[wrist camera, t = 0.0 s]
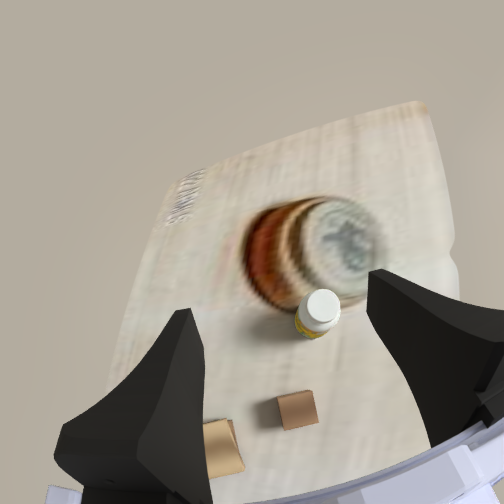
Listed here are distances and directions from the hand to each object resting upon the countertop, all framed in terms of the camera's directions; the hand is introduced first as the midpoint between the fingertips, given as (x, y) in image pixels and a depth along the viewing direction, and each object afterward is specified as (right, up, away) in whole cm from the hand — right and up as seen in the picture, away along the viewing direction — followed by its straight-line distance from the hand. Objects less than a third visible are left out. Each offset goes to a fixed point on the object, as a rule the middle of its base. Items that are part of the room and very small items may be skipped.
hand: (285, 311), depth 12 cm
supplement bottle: (+7, -8, +32) cm, 33 cm away
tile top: (-7, -25, +24) cm, 35 cm away
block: (+5, -19, +27) cm, 33 cm away
